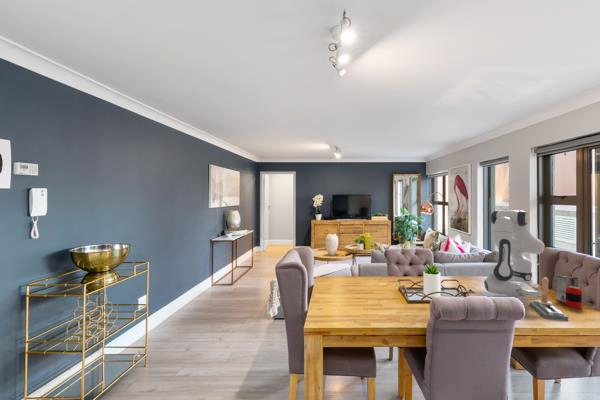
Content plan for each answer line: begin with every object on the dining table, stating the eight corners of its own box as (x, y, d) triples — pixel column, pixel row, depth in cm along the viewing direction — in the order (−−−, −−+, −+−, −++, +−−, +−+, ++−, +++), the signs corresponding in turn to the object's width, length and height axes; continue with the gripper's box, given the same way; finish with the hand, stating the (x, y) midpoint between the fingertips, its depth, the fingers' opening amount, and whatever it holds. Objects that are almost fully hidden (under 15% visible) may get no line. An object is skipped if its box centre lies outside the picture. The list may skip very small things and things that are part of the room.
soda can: (564, 306, 196) (565, 287, 196) (566, 303, 201) (566, 284, 201) (580, 309, 191) (581, 290, 191) (581, 306, 196) (582, 287, 196)
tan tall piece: (536, 303, 193) (537, 276, 193) (548, 305, 191) (549, 277, 191) (539, 306, 189) (540, 278, 188) (552, 307, 186) (553, 279, 186)
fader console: (529, 304, 197) (530, 299, 197) (550, 307, 194) (551, 301, 194) (544, 317, 177) (544, 311, 177) (568, 320, 173) (568, 314, 173)
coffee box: (567, 298, 210) (568, 275, 210) (577, 302, 204) (578, 277, 204) (556, 299, 209) (557, 275, 208) (566, 302, 202) (566, 278, 202)
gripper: (520, 287, 185) (548, 290, 180) (509, 279, 204) (534, 281, 200) (519, 298, 185) (547, 301, 181) (509, 288, 204) (534, 291, 200)
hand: (540, 290), depth 190 cm, fingers open, 8 cm apart
